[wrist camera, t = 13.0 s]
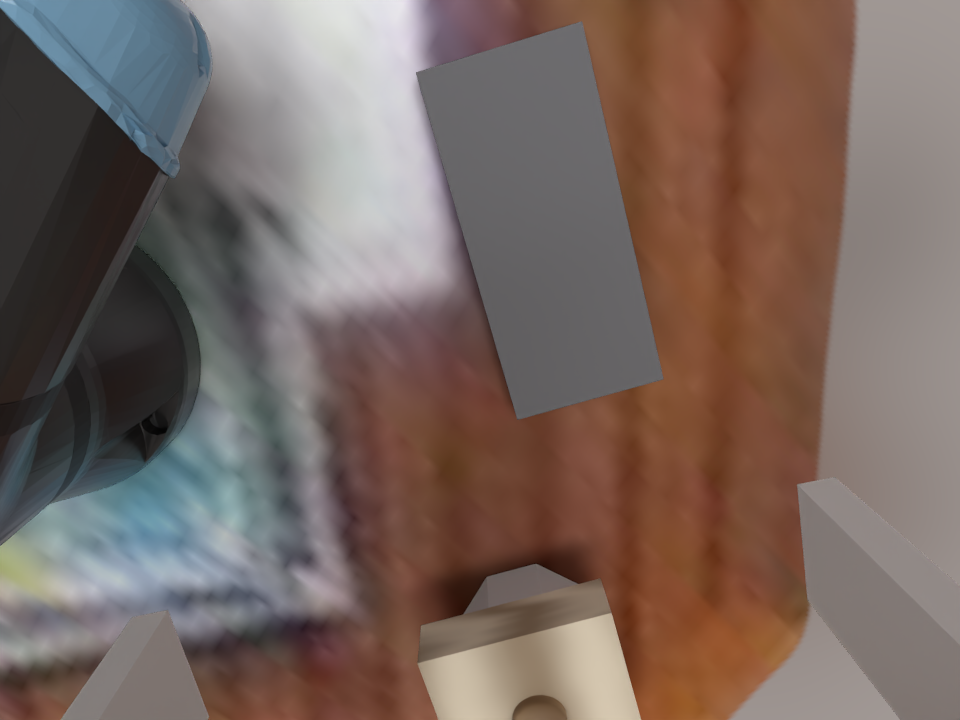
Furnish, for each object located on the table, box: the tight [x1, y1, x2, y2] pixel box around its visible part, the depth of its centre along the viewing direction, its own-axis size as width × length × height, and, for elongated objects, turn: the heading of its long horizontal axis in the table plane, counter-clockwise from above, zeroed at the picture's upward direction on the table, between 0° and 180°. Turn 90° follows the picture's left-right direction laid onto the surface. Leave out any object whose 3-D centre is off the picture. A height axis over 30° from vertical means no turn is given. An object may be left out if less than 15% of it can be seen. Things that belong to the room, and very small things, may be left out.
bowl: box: [464, 564, 577, 614], centre depth 42 cm, size 8×8×5 cm
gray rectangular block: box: [416, 22, 663, 420], centre depth 37 cm, size 8×18×2 cm, turn 16°
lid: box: [418, 578, 641, 720], centre depth 38 cm, size 10×10×4 cm
